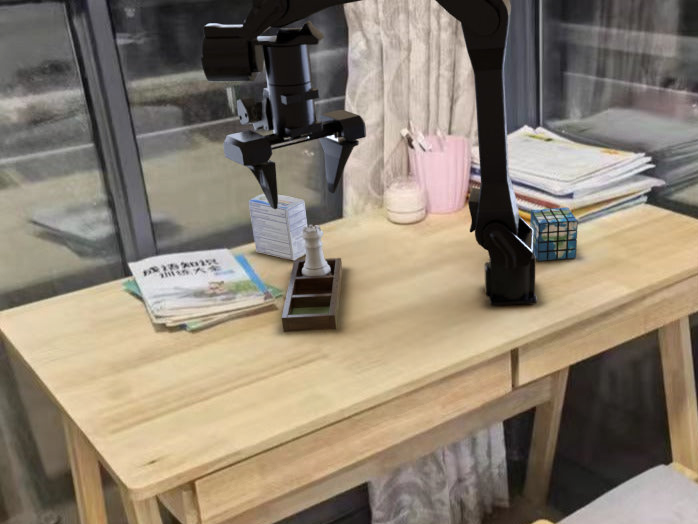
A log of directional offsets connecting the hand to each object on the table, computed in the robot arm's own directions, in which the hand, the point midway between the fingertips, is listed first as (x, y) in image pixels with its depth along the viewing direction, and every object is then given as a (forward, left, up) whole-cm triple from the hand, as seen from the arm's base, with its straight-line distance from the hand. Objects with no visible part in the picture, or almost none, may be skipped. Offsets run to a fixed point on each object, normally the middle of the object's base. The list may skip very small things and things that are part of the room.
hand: (303, 200), depth 129 cm
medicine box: (+6, -16, -14) cm, 22 cm away
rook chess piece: (0, -4, -14) cm, 14 cm away
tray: (0, +2, -14) cm, 14 cm away
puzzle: (-36, -11, -14) cm, 40 cm away
